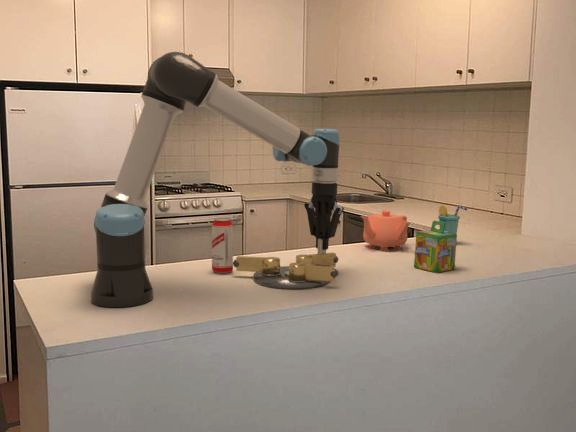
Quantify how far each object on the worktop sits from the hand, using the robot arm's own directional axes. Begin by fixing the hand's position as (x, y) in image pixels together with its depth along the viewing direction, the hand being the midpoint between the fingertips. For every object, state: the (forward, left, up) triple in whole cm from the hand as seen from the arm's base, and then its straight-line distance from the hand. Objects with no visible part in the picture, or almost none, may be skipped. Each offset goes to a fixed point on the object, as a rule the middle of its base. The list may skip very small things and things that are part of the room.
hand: (321, 259), depth 192 cm
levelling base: (-13, -3, -4) cm, 14 cm away
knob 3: (-11, -12, -2) cm, 17 cm away
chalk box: (+33, -14, -4) cm, 36 cm away
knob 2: (-3, -2, -2) cm, 4 cm away
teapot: (+39, +18, -4) cm, 43 cm away
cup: (+65, +11, -4) cm, 66 cm away
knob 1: (-21, +3, -2) cm, 21 cm away
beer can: (-26, +14, -4) cm, 30 cm away
